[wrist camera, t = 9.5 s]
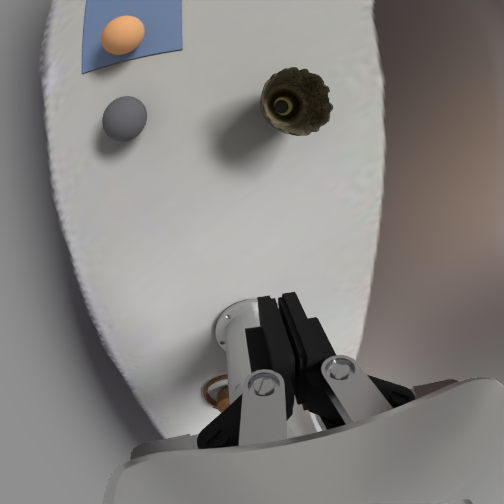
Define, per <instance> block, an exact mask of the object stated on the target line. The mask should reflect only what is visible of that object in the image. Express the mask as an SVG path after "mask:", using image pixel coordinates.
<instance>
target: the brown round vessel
mask: <svg viewBox="0 0 504 504" xmlns="http://www.w3.org/2000/svg"><path fill="white" fill-rule="evenodd" d="M328 92H330V90H329V87H328V86H326V85H324V81H323V79H322V78H321V77H320V76H319V75H316V74H312V73H310V72H309V71H308V70H307V69H302V70H300V71H299V70H298V68H296V67H291V68H289V69H283V70H282V71H280V72H278V73H277V74H276V73H275V74H273V75H272V76H271V78H270V79H269V80H268V81H267V82H266V83H265V85H264V88H263V91H262V95H261V101H260V103H261V110H262V113H263V115H264V117H265V118H266V120H267V121H268V122H269V123H270V124H271V125H272V126H274V127H275V128H277V129H278V130H280V131H282V132H284V133H286V134H291V135H296V136H302V135H303V136H304V135H309V134H310V133H311V132H317V131H319V127H321V126H322V125H325V124H326V123H327V122H328V121H329V119H330V112H331V111H332V109H333V105H332V104H331V103H329V97H328ZM278 101H285V102H286V103H287V104H288V109H287V111H286V112H284V113H281V112H278V111H277V110H276V107H275V105H276V103H277V102H278Z"/></svg>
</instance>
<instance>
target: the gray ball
mask: <svg viewBox="0 0 504 504" xmlns="http://www.w3.org/2000/svg"><path fill="white" fill-rule="evenodd" d="M146 121H147V111H146V108H145V106H144V105H143V103H142V102H141V101H140V100H138V99H136V98H134V97H130V96H125V97H120V98H117V99H116V100H114V101H113V102H111V103H110V104H109V105H108V107H107V108H106V110H105V112H104V114H103V120H102V122H103V127H104V130H105V132H106V133H107V134H108V135H109V136H110V137H111V138H113V139H115V140H120V141H125V140H129V139H132V138H134V137H136V136H137V135H138V134H139V133H140V132H141V131H142V130H143V128H144V126H145V124H146Z"/></svg>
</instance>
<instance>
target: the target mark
mask: <svg viewBox="0 0 504 504" xmlns="http://www.w3.org/2000/svg"><path fill="white" fill-rule="evenodd" d="M120 16H133V17H136V18H138V19H139V20H140V21H141V22H142V23H143V25H144V29H145V34H144V38H143V40H142V42H141V43H140V45H139V46H138V47H137V48H136V49H134V50H133V51H131V52H129V53H127V54H122V55H115V54H111V53H109V52H107V51H106V50H105V49H104V47H103V46H102V42H101V35H102V32H103V30H104V28H105V27H106V25H107V24H108V23H109V22H111V21H112V20H113V19H115V18H118V17H120ZM175 50H182V0H87V2H86V11H85V20H84V33H83V53H82V73H86V72H89V71H92V70H95V69H98V68H101V67H105V66H108V65H111V64H115V63H119V62H122V61H126V60H130V59H135V58H139V57H143V56H148V55H153V54H158V53H164V52H169V51H175Z"/></svg>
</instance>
